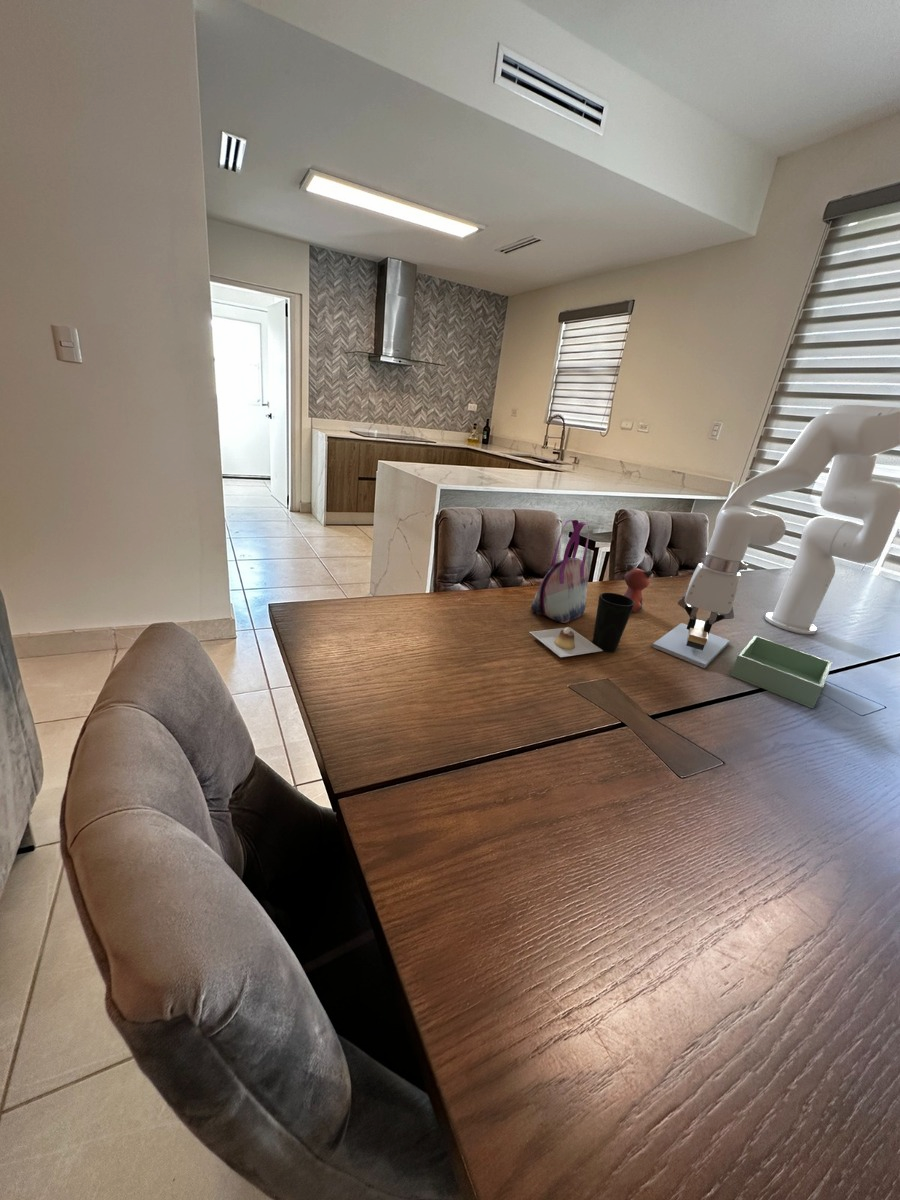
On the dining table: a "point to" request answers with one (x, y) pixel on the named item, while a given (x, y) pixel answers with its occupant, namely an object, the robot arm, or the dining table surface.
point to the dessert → (565, 642)
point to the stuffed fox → (636, 585)
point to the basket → (782, 670)
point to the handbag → (564, 583)
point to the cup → (611, 620)
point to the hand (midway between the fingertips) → (696, 633)
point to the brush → (697, 636)
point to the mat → (677, 647)
